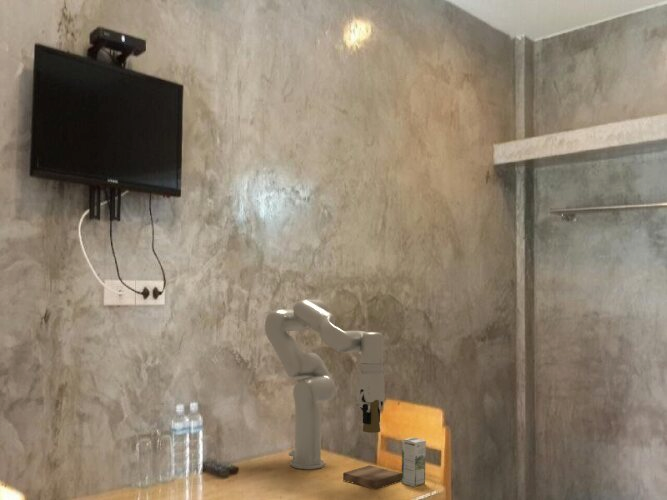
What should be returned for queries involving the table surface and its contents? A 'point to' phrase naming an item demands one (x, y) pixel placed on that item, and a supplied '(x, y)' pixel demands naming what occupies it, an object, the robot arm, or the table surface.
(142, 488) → the table surface
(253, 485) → the table surface
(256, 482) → the table surface
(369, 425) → the cork
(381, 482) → the walnut base
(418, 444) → the syrup box
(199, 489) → the table surface
